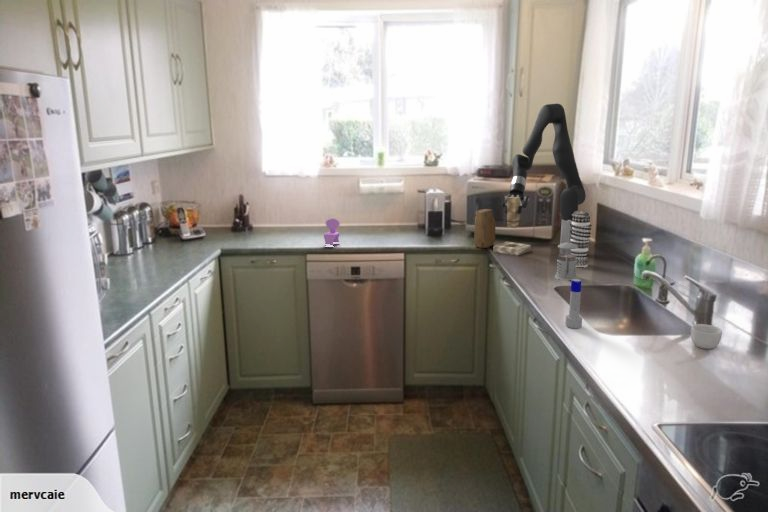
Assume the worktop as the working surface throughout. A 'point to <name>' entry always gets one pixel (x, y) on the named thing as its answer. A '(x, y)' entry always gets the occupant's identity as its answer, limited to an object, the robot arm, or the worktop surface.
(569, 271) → the french press
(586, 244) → the decorative candle
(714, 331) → the teacup
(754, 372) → the worktop surface
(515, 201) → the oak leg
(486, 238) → the block
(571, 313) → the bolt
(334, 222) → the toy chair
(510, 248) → the birch board
